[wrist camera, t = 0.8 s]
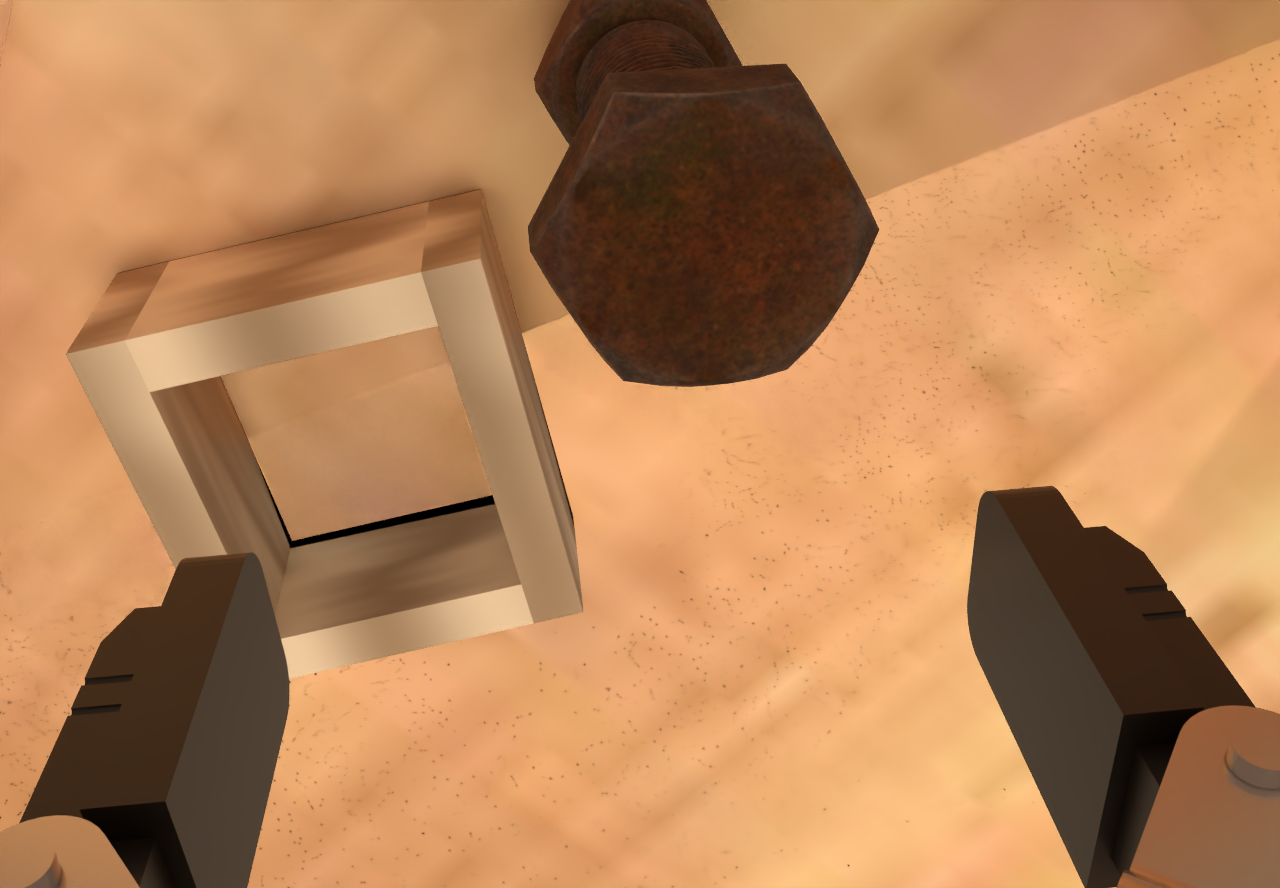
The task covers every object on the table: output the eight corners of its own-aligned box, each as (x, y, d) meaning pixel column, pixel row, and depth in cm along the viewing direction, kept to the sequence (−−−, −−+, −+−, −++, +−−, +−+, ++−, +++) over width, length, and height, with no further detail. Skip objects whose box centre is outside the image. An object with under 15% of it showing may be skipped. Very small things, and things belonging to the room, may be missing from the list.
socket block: (481, 189, 34) (480, 258, 30) (572, 515, 40) (583, 612, 36) (117, 273, 34) (65, 354, 30) (263, 586, 40) (237, 690, 36)
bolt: (481, -10, 32) (477, 188, 19) (647, -123, 31) (761, 4, 18) (601, 173, 34) (668, 451, 22) (756, 75, 33) (922, 306, 21)
